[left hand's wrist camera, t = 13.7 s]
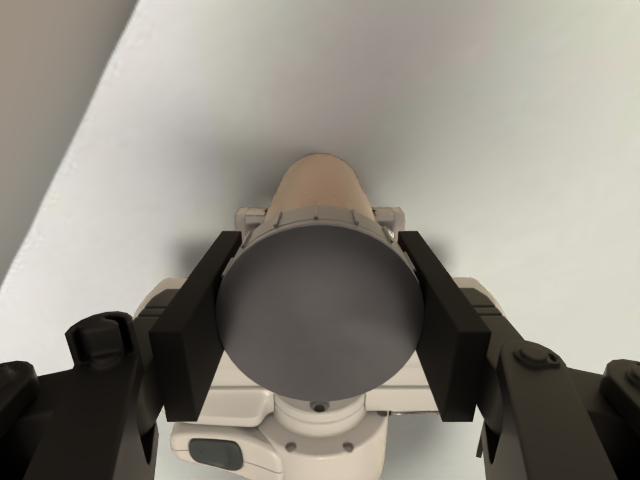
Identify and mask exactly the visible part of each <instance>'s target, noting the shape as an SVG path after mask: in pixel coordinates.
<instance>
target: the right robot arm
mask: <svg viewBox="0 0 640 480" xmlns="http://www.w3.org/2000/svg"><path fill="white" fill-rule="evenodd" d="M267 210H268V208H249V207H248V208H240V209H239V210H238V211H237V213H236V216H235V231H241V232H242V243H243V241H244V239H245V238H246V236H247V234H248V232H249V231H250V230H251V231H252V232H253V231H254V230H255V229H256V228H257V227H259V226H260V225H261V223H262V221H263V219H264V216H265V214H266V212H267ZM372 210H373V212H374V214H375V217H376V219H377V221H378V223H379V225H380V226H382V227H383V226H386V227H387V229H388V231H389V233H390V235H391V236H392V237H393V238H394V239H395V241H396V242H397V241H398V231H404V229H405V216H404V213H403V211H402V210H401V209H400V207H375V208H372ZM187 279H188V278H167V279H164V280H162V281H161V282H160V283H159V284H158V285H157V286H156V287H155V288H154V289H153V290H152V291H151V292H150V293H149V294H148V295H147V296H146V298H145V299H144V300H143V301H142V303H141V304H140V305H139V307H138V308H137V310H136V312H135V313H134V316H133V320H134V319H135V318H136V317H138V314H139V313H140V312H141V311H142V309H145V306H146V305H147V303H148V302H149V301H150V300H151V299H152V298H153V297H154V296H155V295H157V294H159V293H160V292H162V291H164V290H165V289H180V288H181V287H182V285H183V284H184V283H185V281H186V280H187ZM452 279H453V280H454V282H455V283H456V284H457V286H458V287H459V288H475V289H477V290H478V291H480V292H482V293H483V294H485V295H486V296H488V298H489V299H490V300H491V301H492V302H493V303H494V305H495V307H496V308H498V309H499V311H500V312H501V313H502V316H505V313H504V311H503V310H502V308H501V306H500V305H499V304H498V302H497V301H496V300H495V298H494V297H493V296H492V295H491V294H490V292H489V291H488V290H487V289H486V288H485V287H484V286H483V285H482V284H481V283H479V282H478V281H477V280H476V279H474V278H468V277H452ZM505 318H506V316H505ZM161 410H162V411H163V412H164V413H165V409H164V405H163V407H162V409H161ZM425 413H430V414H433V413H436V414H437V415H440V413H439V411H438V408H437V406H436V403H435V400H434V398H433V395H432V392H431V390H430V387H429V384H428V382H427V379H426V377H425V374H424V371H423V369H422V366H421V363H420V361H419V358H418V356H417V353H416V350H415V351H414V353H413V355H412V356H411V358H410V359H409V360H408V362H407V363H406V364H405V365H404V367H403V368H402V369H401V370H400V371H399V372H398V373H397V374H396V375H395V376H393V377H392V378H391V379H389V380H388V381H387V382H385V383H384V384H382V385H380V386H379V387H377V388H375V389H373V390H371V391H369V392H366V393H364V394H361V395H358V396H355V397H352V398H348V399H343V400H337V401H329V402H312V401H302V400H297V399H291V398H288V397H285V396H281V395H278V394H276V393H274V392H271V391H269V390H267V389H265V388H263V387H261V386H259V385H258V384H256V383H255V382H253V381H252V380H251V379H249V378H248V377H247V376H246V375H244V374H243V373H242V372H241V371H240V370H239V369H238V368H237V367H236V365H235V364H234V363H233V362H232V361H231V359H230V358H229V356H228V355H227V353H226V352H225V350H224V352H223V355H222V358H221V360H220V363H219V366H218V368H217V371H216V373H215V376H214V379H213V381H212V384H211V387H210V389H209V392H208V394H207V397H206V400H205V402H204V405H203V408H202V410H201V413H200V416H199V418H198V421H197V422H175V423H174V426H173V430H172V433H171V437H170V445H171V449H172V452H173V453H174V455H175V456H176V457H178V458H179V459H182V460H184V461H188V462H192V463H197V464H201V465H206V466H210V467H214V468H218V469H221V470H225V471H228V472H231V473H234V474H237V475H240V476H242V477H245V478H247V479H250V480H380V478H381V475H382V471H383V466H384V458H385V448H386V437H387V427H388V417H389V415H417V414H418V415H419V414H425Z"/></svg>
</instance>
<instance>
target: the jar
mask: <svg viewBox="0 0 640 480" xmlns="http://www.w3.org/2000/svg"><path fill="white" fill-rule="evenodd" d="M314 203H318V206H333V207H340V208H344V209H348V210H352V208H353V209H355V210H356V212H357V213H359V214H362V215H364V216H366V217H368V218H370V219H371V220H373V221H375V222H376V223H377V224H379V223H378V221H377V219H376V217H375V214H374V212H373V210H372V208H371V206H370V204H369V202H368V200H367V198H366V195H365V193H364V191H363V189H362V187H361V185H360V183H359V181H358V178H357V176H356V175H355V173H354V171H353V170H352V169H351V167H350V166H349V165H348V164H347V163H345V162H344V161H343V160H341V159H339V158H337V157H335V156H332V155H328V154H312V155H308V156H305V157H303V158H301V159H299V160H297V161H296V162H295V163H293V164H292V165H291V166H290V167H289V168H288V170H287V171H286V173H285V174H284V176H283V178H282V180H281V183H280V185H279V187H278V189H277V191H276V193H275V195H274V197H273V199H272V202H271V204H270V206H269V208H268V210H267V212H266V214H265V216H264V219H263V221H262V223H264V222H265V221H267V220H269V219H270V218H272V217H274V216H276V215H277V213H278V212H279V211H281V212H282V213H283V212H285V211H289V210H292V209H296V208H300V207H307V206H314ZM262 223H261V224H262Z"/></svg>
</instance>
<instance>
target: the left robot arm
mask: <svg viewBox="0 0 640 480" xmlns="http://www.w3.org/2000/svg"><path fill="white" fill-rule="evenodd" d="M397 243H398V245H399V246H400V248H401V250H402V251H403V252H406V253H407V255H408V257H409V258H410V260H411V262H412V264H413V265H414V267H415V269H416V271H415V272H414V273H415V275H416V277H417V279H418V281H419V284H420V287H421V289H422V293H423V298H424V303H425V315H424V323H423V331H422V335H421V338H420V341H419V343H418V345H417V348H416V353H417V356H418V358H419V361H420V363H421V366H422V369H423V371H424V374H425V377H426V379H427V382H428V384H429V387H430V390H431V392H432V395H433V398H434V400H435V403H436V406H437V408H438V411H439V413H440V416H441V419H442V421H443V422H473V417H474V413H475V408H476V404H477V406H478V408H479V410H480V412H481V414H482V416H483V418H484V422H483V427H482V431H481V435H480V440H479V444H478V448H477V454H476V457H479V458H481V456H482V452H483V455H484V464H485V474H486V480H640V362H638V361H632V360H625V359H620V360H612V361H611V362H609V363H608V364H607V366H606V369H605V371H604V374H603V375H600V374H596V373H591V372H586V371H581V370H576V369H572V368H568V367H567V366H566V364H565V363H564V362H563V360H562V359H561V358H560V356H558V355H557V354H556V353H554V352H553V351H552V350H550V349H548V348H546V347H544V346H542V345H540V344H537V343H533V342H530V341H526V340H524V339H523V338H522V336H521V335H520V334H519V333H518V332H517V331H516V329H515V328H514V327H513V326H512V325H511V323H510V322H509V321H508V320H507V319H506V318H505V316H502V313H501V312H500V311H499V309H498V308H496V307H495V305H494V303H493V302H492V301H491V300H490V299H489V298H488V296H486V295H485V294H483V293H482V292H480V291H478V290H477V289H475V288H459V287H458V286H457V284H456V283H455V282H454V280H453V279H452V277H451V276H450V275H449V273H448V272H447V271H446V269H445V268H444V267H443V265H442V264H441V263H440V261H439V260H438V258H437V257H436V256H435V254H434V253H433V252H432V250H431V249H430V248H429V246H428V245H427V244H426V242H425V241H424V239H423V238H422V237H421V235H420V234H419V233H418V231H398V241H397ZM241 245H242V232H241V231H222V232H221V234H220V235H219V236H218V238H217V239H216V240H215V242H214V243H213V245H212V246H211V247H210V249H209V250H208V251H207V253H206V254H205V255H204V257H203V258H202V260H201V261H200V262H199V264H198V265H197V266H196V268H195V269H194V270H193V272H192V273H191V274H190V276H189V277H188V279H187V280H186V281H185V283H184V284H183V285H182V287H181V288H180V289H165V290H164V291H162V292H160V293H159V294H157V295H155V296H154V297H153V298H152V299H151V300H150V301H149V302H148V303H147V305H146V306H145V309H142V311H141V312H140V313H139V314H138V317H136V318H135V319H134V320H133V318H132V316H130V315H129V314H128V313H124V312H119V311H115V312H104V313H100V314H96V315H92V316H90V317H88V318H85V319H83V320H81V321H79V322H78V323H76V324H74V325H73V326H71V327H70V328H69V329H68V331H67V332H66V333H65V337H66V340H67V343H68V346H69V349H70V352H71V355H72V358H73V361H74V367H73V369H70V370H66V371H61V372H57V373H52V374H47V375H42V376H37V375H36V372H35V370H34V367H33V365H31V364H30V363H28V362H25V361H13V362H6V363H1V364H0V480H154V475H155V466H156V456H157V447H158V438H159V433H158V427H157V422H156V419H157V417H158V415H159V413H160V411H161V409H162V407H163V405H164V409H165V414H166V418H167V422H197V421H198V418H199V416H200V413H201V410H202V408H203V405H204V402H205V400H206V397H207V394H208V392H209V389H210V387H211V384H212V381H213V379H214V376H215V373H216V371H217V368H218V366H219V363H220V360H221V358H222V355H223V352H224V348H223V345H222V343H221V341H220V338H219V335H218V332H217V325H216V318H215V304H216V297H217V293H218V290H219V287H220V284H221V281H222V279H223V278H221V276H222V274H223V272H224V270H225V268H226V266H227V265H228V263H229V261H230V259H231V258H234V257H235V255H236V253H237V251H238V249H239V248H240V246H241Z"/></svg>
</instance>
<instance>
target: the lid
mask: <svg viewBox="0 0 640 480" xmlns="http://www.w3.org/2000/svg"><path fill="white" fill-rule="evenodd" d="M415 271H416V269H415V267H414V265H413V264H412V262H411V260H410V258H409V257H408V255H407V253H406V252H403V251H402V250H401V248H400V246H399V245H398V243H397V242H396V241H395V239H394V238H393V237H392V236H391V235H390V233H389V231H388V229H387V227H386V226H383V227H382V226H380V225H379V224H377V223H376V222H375V221H373V220H371V219H370V218H368V217H366V216H364V215H362V214H359V213H357V212H356V210H355V209H353V208H352V210H348V209H344V208H340V207H333V206H318V203H314V206H307V207H300V208H296V209H292V210H289V211H285V212H283V213H282V212H281V211H279V212H278V213H277V215H276V216H274V217H272V218H270V219H269V220H267V221H265V222H264V223H262V224H261V225H260V226H259V227H257V228H256V229H255V230H254V231H253V232H252V231H251V230H250V231H249V232H248V234H247V236H246V238H245V239H244V241H243V243H242V245H241V246H240V248H239V249H238V251H237V253H236V255H235V257H234V258H231V259H230V261H229V263H228V265H227V266H226V268H225V270H224V272H223V274H222V276H221V278H223V279H222V281H221V284H220V287H219V290H218V293H217V297H216V304H215V318H216V325H217V332H218V335H219V338H220V341H221V343H222V345H223V348H224V350H225V352H226V353H227V355H228V356H229V358H230V359H231V361H232V362H233V363H234V364H235V365H236V367H237V368H238V369H239V370H240V371H241V372H242V373H243V374H244V375H246V376H247V377H248V378H249V379H251V380H252V381H253V382H255V383H256V384H258V385H259V386H261V387H263V388H265V389H267V390H269V391H271V392H274V393H276V394H278V395H281V396H285V397H288V398H291V399H297V400H302V401H312V402H329V401H337V400H343V399H348V398H352V397H355V396H358V395H361V394H364V393H366V392H369V391H371V390H373V389H375V388H377V387H379V386H380V385H382V384H384V383H385V382H387V381H388V380H389V379H391V378H392V377H393V376H395V375H396V374H397V373H398V372H399V371H400V370H401V369H402V368H403V367H404V365H405V364H406V363H407V362H408V360H409V359H410V358H411V356H412V355H413V353H414V351H415V350H416V348H417V345H418V343H419V341H420V338H421V335H422V331H423V323H424V315H425V303H424V298H423V293H422V289H421V287H420V284H419V281H418V279H417V277H416V275H415V273H414V272H415Z"/></svg>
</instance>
